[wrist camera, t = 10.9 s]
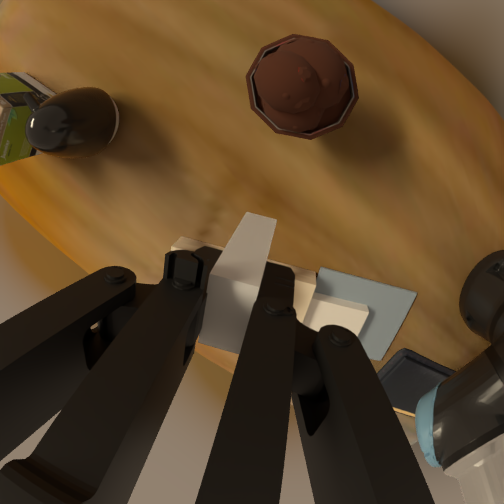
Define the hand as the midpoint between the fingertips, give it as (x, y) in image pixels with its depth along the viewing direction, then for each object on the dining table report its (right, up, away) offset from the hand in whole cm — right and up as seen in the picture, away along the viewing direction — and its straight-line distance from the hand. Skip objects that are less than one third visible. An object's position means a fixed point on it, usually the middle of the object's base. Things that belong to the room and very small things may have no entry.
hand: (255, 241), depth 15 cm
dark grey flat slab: (+31, -27, +36) cm, 55 cm away
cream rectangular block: (+12, -10, +31) cm, 35 cm away
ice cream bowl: (+6, +19, +20) cm, 28 cm away
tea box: (-38, +24, +25) cm, 52 cm away
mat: (+16, -11, +31) cm, 36 cm away
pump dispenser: (-23, +19, +25) cm, 39 cm away
